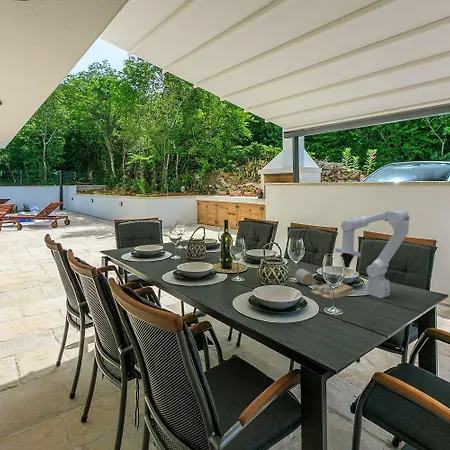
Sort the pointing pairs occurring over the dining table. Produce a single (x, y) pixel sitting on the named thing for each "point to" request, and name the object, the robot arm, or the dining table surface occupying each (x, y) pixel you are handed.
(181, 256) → the dining table surface
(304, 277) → the grey canister
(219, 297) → the dining table surface
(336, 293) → the light wood flat board
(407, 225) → the robot arm
